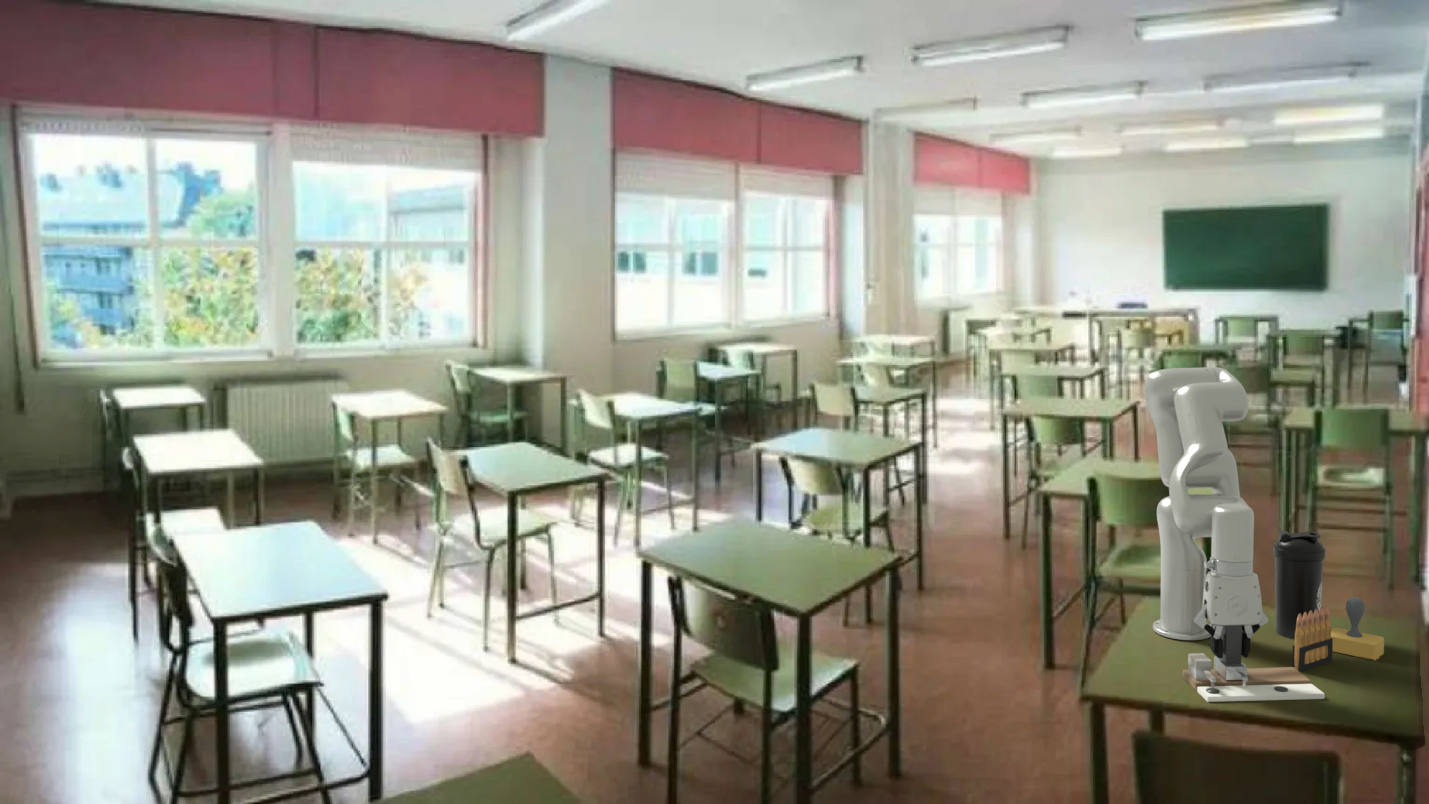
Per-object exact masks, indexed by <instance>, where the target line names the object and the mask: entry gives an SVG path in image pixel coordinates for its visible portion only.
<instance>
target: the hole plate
mask: <svg viewBox="0 0 1429 804" xmlns="http://www.w3.org/2000/svg"><path fill="white" fill-rule="evenodd" d="M1196 692H1197V693H1198V694H1199V695H1200V696H1201V697H1202V698H1203V699H1204V700H1205V701H1206V702H1207V703H1209V702H1210V703H1211V702H1212V703H1213V702H1214V703H1215V702H1247V701H1248V702H1251V701H1252V702H1253V701H1257V702H1258V701H1284V700H1285V701H1286V700H1287V701H1290V700H1322V699H1323V700H1324V699H1325V697H1326V696H1325V693H1324V692H1323V691H1322V690H1321V689H1320V688H1318V687H1316V686H1315V685H1314V684H1313V683H1310V684H1281V685H1246V687H1243V686H1215V687H1214V688H1212V687H1211V686H1205V687H1197V691H1196Z"/></svg>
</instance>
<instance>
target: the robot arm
mask: <svg viewBox="0 0 1429 804" xmlns="http://www.w3.org/2000/svg"><path fill="white" fill-rule="evenodd" d="M1143 390H1144V399H1145V404H1146V407H1147V410H1148V413H1149V415H1150V417H1151V420H1152V422H1153V425H1154V428H1155V432H1156V444H1157V445H1156V446H1157V457H1158V467H1159V474H1160V478H1161V482H1162V483H1163V485H1164V486H1165V487H1167V488H1168V492H1169V495H1168V496H1166V497H1164V498H1161V500H1160V501H1159V502H1158V504H1157V507H1156V521H1157V527H1158V532H1159V533H1158V534H1159V541H1160V619H1157V620H1155V621H1154V622H1153V624H1152V630H1153V632H1155V633H1157V634H1158V635H1159V636H1163V637H1164V638H1165V637H1166V638H1169V639H1174V640H1180V641H1201V640H1206V639H1208V638H1210V650H1211V653H1212V654H1213V655H1214V656H1217V657H1218V658H1222V657H1223V639H1221V631H1222V628H1223V626H1239V625H1242V651H1241V657H1243V658H1249V653H1250V652H1251V641H1252V640H1251V639H1252V638H1253V637H1254V635H1255V633H1256V632H1257V631H1258V630H1260V628H1261V627H1263V626H1265V625H1266V624H1267V623H1268V622H1269V618H1268V616H1267V615H1266V614H1265V612H1264V611H1263V605H1262V603H1263V602H1262V593H1261V585H1260V581H1259V580H1260V579H1259V576H1258V574H1257V573H1255V572H1254V542H1255V540H1254V539H1255V538H1254V537H1255V536H1254V535H1255V534H1254V533H1255V532H1254V531H1255V514H1254V513H1255V512H1254V510H1253V509H1252V508H1251V507H1250V506H1249V504H1248V503H1247V502H1246V501H1245V500H1244V498H1243V497H1241V493H1240V484H1239V483H1240V482H1239V476H1238V475H1239V474H1238V469H1237V468H1238V466H1237V462H1236V459H1235V457H1234V454H1233V453H1232V452H1231V451H1230V449H1229V448H1228V442H1227V438H1226V433H1225V428H1224V425H1223V422H1238V421H1242V420H1244V419H1245V418H1246V416H1247V415H1248V412H1249V399H1248V394H1247V392H1246V390H1245V388H1244V386H1243V385H1242V383H1241V382H1240V381H1239V380H1238V379H1237V378H1236V377H1235V376H1234V375H1233V374H1232V373H1231V372H1229V371H1228V370H1227V369H1226V368H1223V367H1218V366H1217V367H1213V366H1210V367H1209V366H1208V367H1207V366H1206V367H1174V368H1173V367H1171V368H1163V369H1158V370H1155V371H1153V372H1151V373H1149V374H1148V375H1147V377H1146V379H1145V382H1144V389H1143ZM1187 489H1188V490H1189V489H1210V490H1211V491H1212V493H1211V494H1209V493H1208V494H1207V493H1206V494H1202V493H1201V494H1199V493H1198V494H1197V493H1195V494H1191V493H1189V494H1188V491H1187ZM1197 538H1210V539H1211V540H1210V541H1211V543H1210V544H1211V545H1210V546H1211V549H1210V550H1211V551H1210V553H1211V554H1210V555H1211V556H1210V557H1209V560H1208V561H1207V556H1206V554H1205V553H1206V552H1204V550H1203V549H1202V548H1201V546H1199V544H1198V543H1197V542H1196V541H1195V539H1197ZM1208 569H1209V570H1210V571H1207V570H1208ZM1206 620H1208V622H1209V623H1210V624H1209V623H1208V622H1207V621H1206Z"/></svg>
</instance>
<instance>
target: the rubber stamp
mask: <svg viewBox="0 0 1429 804" xmlns="http://www.w3.org/2000/svg"><path fill="white" fill-rule="evenodd" d="M1365 607H1366V606H1365V603H1364V600H1362V599H1361V598H1359V597H1357V596H1352V597H1350V598H1349V599H1347V601H1346V603H1345V611H1346V613H1347V616H1348V617H1347V618H1349V622H1350V627H1351V628H1350V629H1345V628H1339V627H1331V638H1333V653H1337V654H1343V655H1347V656H1352V657H1355V658H1361V659H1365V660H1370V659H1372V660H1371V661H1377V660H1378V659H1380V657H1379V656H1381V655H1382V656H1383V655H1384V654H1385V637H1383V636H1380V635H1375V634H1370V633H1365V632H1360V631H1359V624H1360V622H1361V620H1362V619H1363V618H1362V617H1363V616H1364V613H1365V609H1366V608H1365ZM1382 656H1381V657H1382ZM1376 659H1377V660H1376Z"/></svg>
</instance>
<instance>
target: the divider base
mask: <svg viewBox="0 0 1429 804" xmlns="http://www.w3.org/2000/svg"><path fill="white" fill-rule="evenodd" d="M1187 656H1188V657H1187V666H1188V667H1187V669H1183V670H1182V678H1183V679H1184V680H1185V681H1186V682H1187V683H1188V684H1189V685H1190V686H1191V687H1192V688H1193V689H1194V690H1195V691H1196V692H1197V687H1205V686H1211V687H1212V688H1214V687H1215V686H1243V680H1226V679H1225V678H1223V677H1222V676H1221V675H1220V674H1219V673H1218V672H1217V671H1216V670H1215V669H1214V668H1213V669H1212V660H1211V659H1210V657H1208V656H1207V655H1206V654H1205V653H1203V652H1202V653H1201V652H1200V653H1198V652H1197V653H1188V654H1187ZM1247 677H1248V681H1246V685H1281V684H1311V679H1309V678H1308V677H1307V676H1305V675H1304V674H1303V673H1302V672H1299V671H1298V670H1296V669H1295V668H1294V667H1292V666H1287V667H1286V666H1281V667H1251V668H1250V667H1249V668H1248V667H1247Z"/></svg>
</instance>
